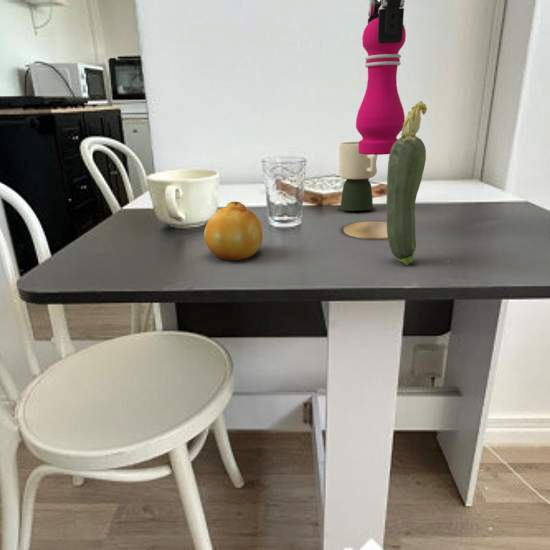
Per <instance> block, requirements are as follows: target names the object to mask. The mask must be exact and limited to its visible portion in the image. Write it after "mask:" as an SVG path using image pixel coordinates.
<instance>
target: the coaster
mask: <svg viewBox="0 0 550 550" xmlns="http://www.w3.org/2000/svg"><path fill="white" fill-rule="evenodd" d="M343 233H344V234H346V235H347V236H350V237H353V238H357V239H363V240H388V235H387V221H378V220H377V221H359V222H353V223H350V224H347V225H345V226H344V227H343Z"/></svg>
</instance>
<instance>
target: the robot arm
mask: <svg viewBox="0 0 550 550" xmlns="http://www.w3.org/2000/svg"><path fill="white" fill-rule="evenodd" d="M405 1H406V0H369V4H368V15H367V18H368V19H367V24H368V23H369V22H371V21H372V20H374V19H376V18H378V17H379V19H378V43H380V44H382V43H399V42H401V41H402V34H403V25H404V17H405V16H404V15H405V13H404V12H405V8H404V6H405ZM380 6H382V9H379V8H380ZM383 8H385V9H383ZM378 11H379V13H378Z"/></svg>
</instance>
